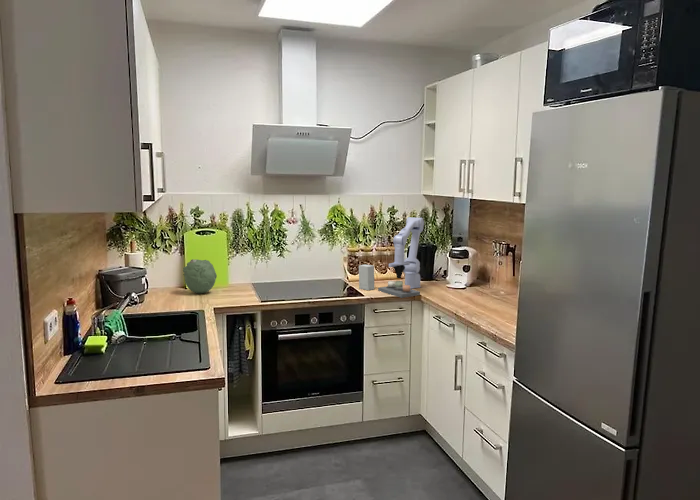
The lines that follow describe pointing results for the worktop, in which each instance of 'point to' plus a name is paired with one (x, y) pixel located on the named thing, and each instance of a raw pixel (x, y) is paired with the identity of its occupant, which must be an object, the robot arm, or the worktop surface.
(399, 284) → the button sage
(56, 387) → the worktop surface
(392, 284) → the button cream
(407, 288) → the button terracotta
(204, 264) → the cabbage
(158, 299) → the worktop surface
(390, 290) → the panel
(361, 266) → the skincare box
